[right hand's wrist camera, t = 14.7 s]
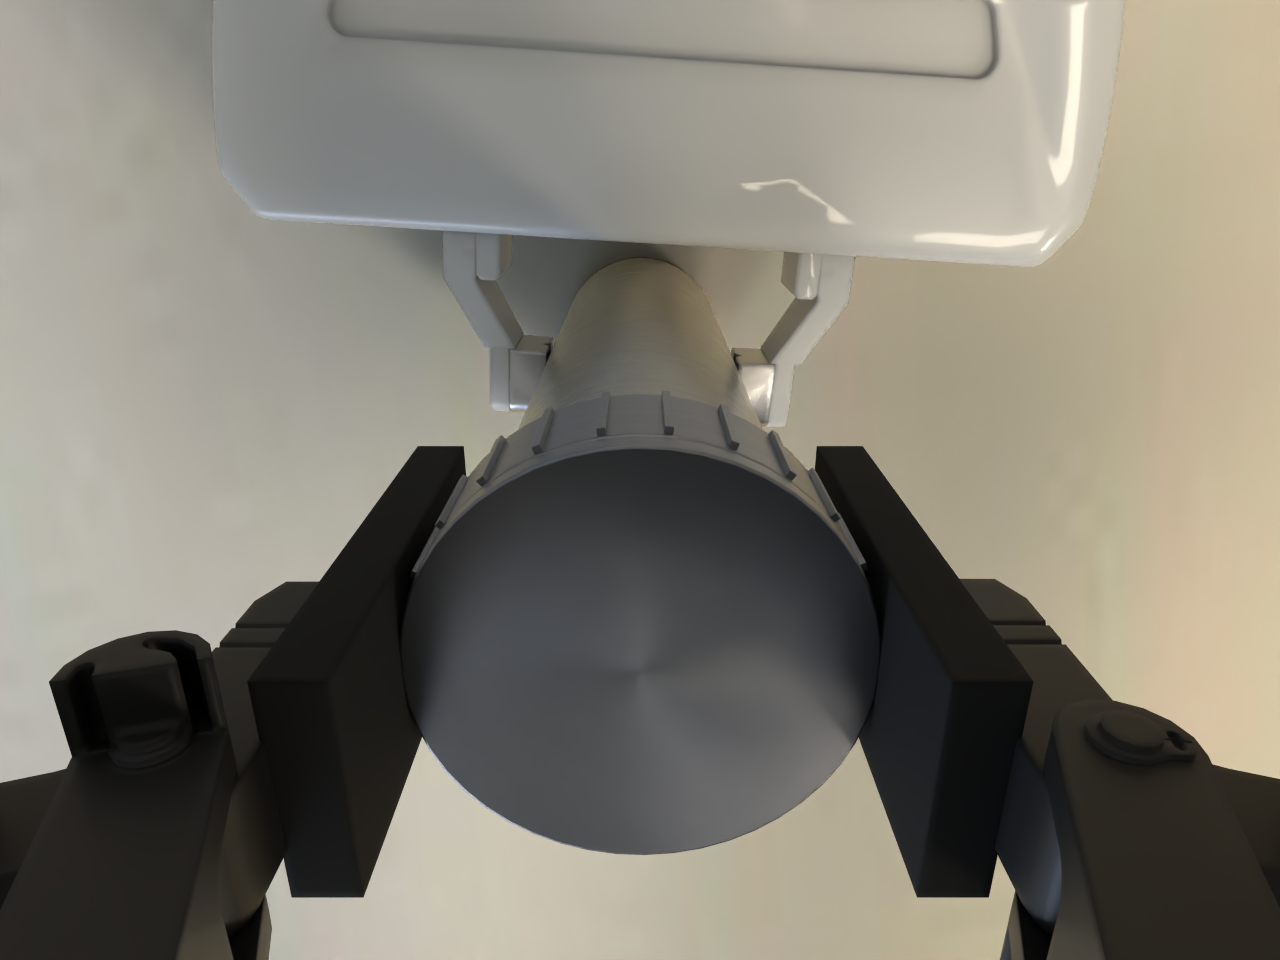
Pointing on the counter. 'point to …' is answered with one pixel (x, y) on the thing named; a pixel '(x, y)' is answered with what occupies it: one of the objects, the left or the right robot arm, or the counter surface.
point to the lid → (640, 628)
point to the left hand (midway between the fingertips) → (640, 413)
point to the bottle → (640, 343)
